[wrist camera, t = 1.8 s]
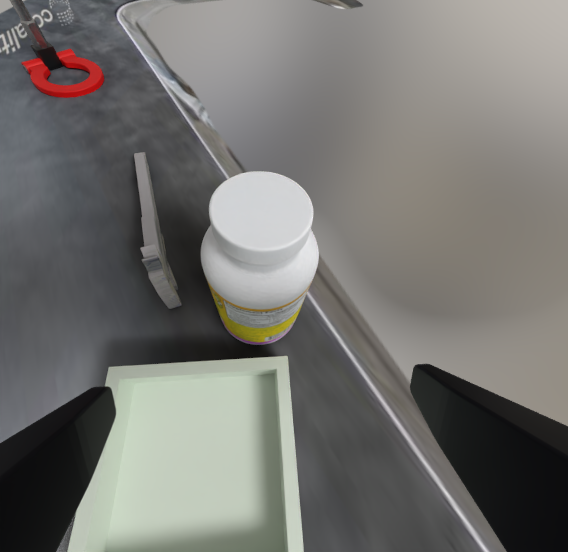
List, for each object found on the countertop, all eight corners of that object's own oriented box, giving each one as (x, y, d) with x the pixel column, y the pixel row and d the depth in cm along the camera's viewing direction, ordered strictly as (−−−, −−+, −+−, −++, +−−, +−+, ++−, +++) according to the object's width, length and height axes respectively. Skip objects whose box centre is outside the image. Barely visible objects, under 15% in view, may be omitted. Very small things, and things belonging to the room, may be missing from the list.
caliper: (184, 308, 23) (162, 273, 17) (171, 312, 22) (144, 277, 17) (146, 156, 31) (123, 99, 25) (136, 157, 31) (110, 100, 25)
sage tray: (298, 567, 15) (307, 597, 13) (85, 602, 14) (46, 645, 11) (283, 363, 21) (287, 356, 18) (128, 373, 19) (109, 366, 17)
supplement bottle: (232, 269, 24) (214, 143, 13) (301, 284, 24) (342, 171, 13) (209, 338, 21) (158, 249, 10) (288, 355, 21) (327, 286, 10)
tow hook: (118, 87, 37) (80, 57, 39) (61, -55, 26) (10, -88, 28) (59, 109, 34) (20, 75, 36) (-38, -44, 22) (-88, -83, 24)
